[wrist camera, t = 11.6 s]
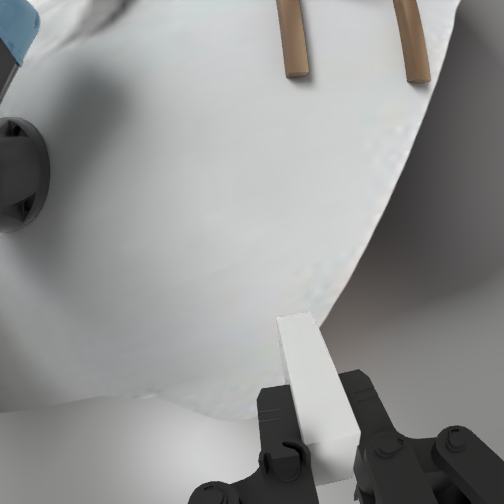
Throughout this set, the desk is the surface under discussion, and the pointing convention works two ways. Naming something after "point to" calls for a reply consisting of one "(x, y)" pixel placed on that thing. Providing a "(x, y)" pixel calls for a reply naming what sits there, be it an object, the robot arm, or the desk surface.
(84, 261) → the desk surface
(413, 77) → the channel
